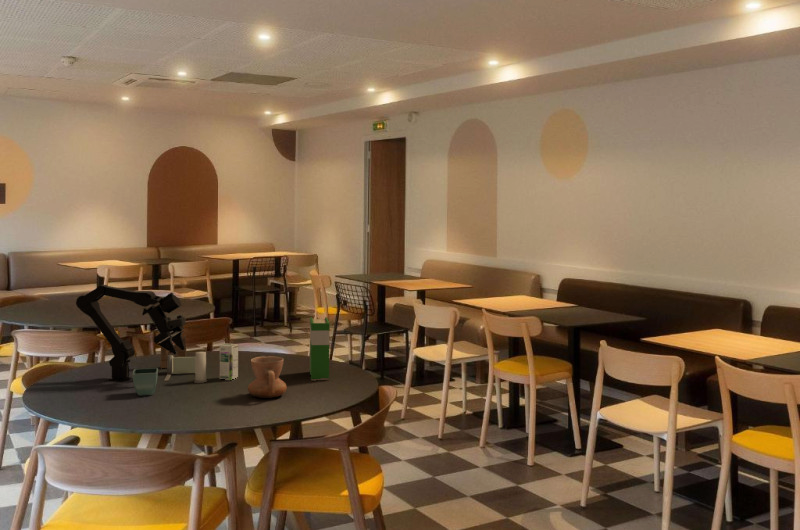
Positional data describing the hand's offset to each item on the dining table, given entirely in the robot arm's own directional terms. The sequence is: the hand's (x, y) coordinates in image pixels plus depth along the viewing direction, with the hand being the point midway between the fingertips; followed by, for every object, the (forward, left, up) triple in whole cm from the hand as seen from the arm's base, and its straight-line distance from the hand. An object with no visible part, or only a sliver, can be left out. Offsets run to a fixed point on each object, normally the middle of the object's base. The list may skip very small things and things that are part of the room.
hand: (179, 351), depth 305 cm
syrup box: (+12, -16, -12) cm, 23 cm away
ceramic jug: (-6, -46, -12) cm, 48 cm away
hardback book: (+33, -47, -12) cm, 58 cm away
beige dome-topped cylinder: (+2, -9, -12) cm, 15 cm away
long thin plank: (+5, +10, -12) cm, 16 cm away
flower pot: (-23, -3, -12) cm, 27 cm away
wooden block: (+20, +19, -12) cm, 30 cm away
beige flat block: (+12, +6, -12) cm, 18 cm away
